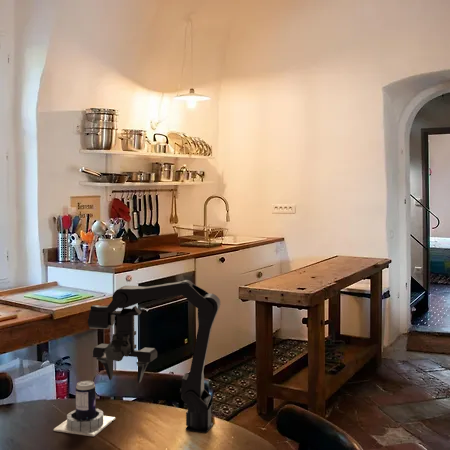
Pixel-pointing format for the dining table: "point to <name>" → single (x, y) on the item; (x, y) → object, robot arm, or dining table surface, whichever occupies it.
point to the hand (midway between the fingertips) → (124, 381)
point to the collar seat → (84, 424)
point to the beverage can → (85, 400)
